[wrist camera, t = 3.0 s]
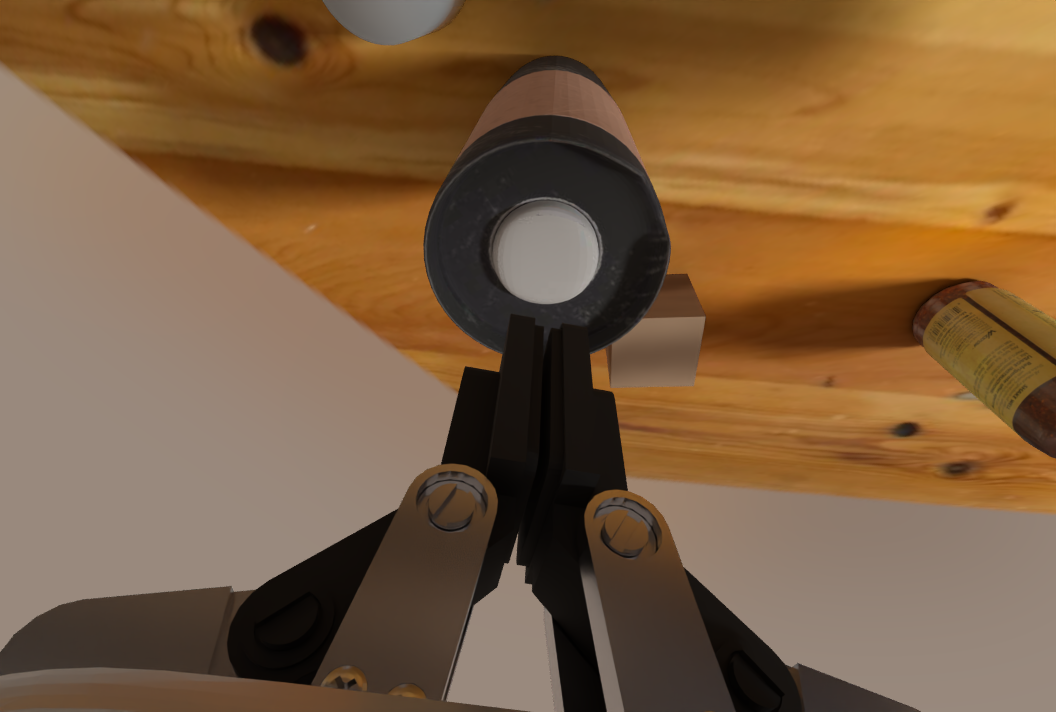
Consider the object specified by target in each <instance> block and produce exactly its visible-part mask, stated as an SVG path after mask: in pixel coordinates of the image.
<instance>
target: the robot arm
mask: <svg viewBox="0 0 1056 712" xmlns="http://www.w3.org/2000/svg"><path fill="white" fill-rule="evenodd" d="M543 341H544V326H540V325H535V318H533V317H528V316H522V315H517V314H510V319H509V324H508V329H507V334H506V339H505V345H504V350H503V355H502V360H501V365H500V371H499V372H495V371H489V370H484V369H478V368H472V367H466V366H465V369H464V372H463V376H462V380H461V385H460V389H459V393H458V397H457V401H456V405H455V410H454V413H453V417H452V421H451V426H450V430H449V434H448V438H447V442H446V446H445V450H444V454H443V458H442V462H441V465H437V466H435V467H432V468H429V469H427V470H425V471H424V472H423V473H421V474H420V475H418V476H417V477H416V478H415V479H414V481H413V482H412V484H411V485H410V486H409V488H408V490H407V492H406V494H405V496H404V498H403V500H402V502H401V504H400V506H399V508H398V509H397V510H395V511H393V512H391V513H389V514H388V515H386V516H384V517H382V518H381V519H379V520H377V521H375V522H373V523H371V524H370V525H368V526H366V527H364V528H362V529H361V530H359V531H357V532H356V533H353V534H352V535H350V536H348V537H346V538H344V539H343V540H341V541H339V542H337V543H335V544H334V545H332V546H330V547H328V548H327V549H325V550H323V551H321V552H319V553H317V554H316V555H314V556H312V557H310V558H309V559H307V560H305V561H303V562H301V563H299V564H298V565H296V566H294V567H292V568H291V569H289V570H287V571H285V572H283V573H282V574H280V575H278V576H276V577H274V578H272V579H271V580H269V581H268V582H266V583H265V584H263V585H262V586H261V587H259V588H258V589H256V590H248V591H237V592H234V591H233V588H232V586H226V587H216V588H204V589H193V590H183V591H172V592H160V593H149V594H138V595H126V596H116V597H104V598H93V599H83V600H79V601H75V602H70V603H66V604H62V605H59V606H57V607H55V608H53V609H51V610H49V611H47V612H45V613H43V614H41V615H39V616H37V617H36V618H34V619H33V620H32V621H31V622H29V623H28V624H27V625H26V626H24V627H23V628H22V629H21V630H19V631H18V632H17V633H15V634H14V635H13V637H12V638H11V639H10V641H9V642H8V643H7V644H6V645H5V647H4V648H3V649H2V651H1V652H0V712H528V711H520V710H511V709H503V708H496V707H487V706H479V705H471V704H462V703H454V702H447V698H448V695H449V691H450V687H451V684H452V681H453V677H454V674H455V670H456V666H457V663H458V659H459V656H460V653H461V649H462V646H463V642H464V639H465V636H466V632H467V628H468V625H469V621H470V618H471V614H472V611H473V607H474V605H475V604H476V603H477V602H478V601H480V600H481V599H482V598H484V597H485V596H486V595H488V594H489V593H490V592H491V591H493V590H494V589H495V588H497V586H498V583H499V579H500V576H501V572H502V569H503V565H504V563H509V560H510V557H511V554H512V550H513V547H514V544H515V541H516V537H517V534H518V544H517V560H516V561H517V565H522V566H526V572H525V583H527V584H532V592H533V593H534V595H535V596H536V597H537V598H538V600H539V601H540V602H541V603H542V604H543V606H544V626H545V635H546V643H547V651H548V659H549V668H550V677H551V685H552V693H553V702H554V710H555V712H921V711H919V710H917V709H915V708H913V707H910V706H908V705H905V704H902V703H900V702H897V701H895V700H892V699H890V698H887V697H884V696H882V695H879V694H877V693H874V692H871V691H869V690H866V689H864V688H861V687H859V686H856V685H853V684H851V683H848V682H846V681H843V680H841V679H838V678H835V677H833V676H830V675H827V674H825V673H822V672H820V671H817V670H815V669H812V668H809V667H807V666H804V665H802V664H799V663H797V664H796V665H794V666H793V667H790V666H788V665H785V664H784V663H783V662H782V661H781V659H780V658H779V657H778V656H777V655H776V654H775V653H774V651H773V650H772V649H771V648H770V647H769V646H768V645H766V644H765V643H764V642H763V641H762V640H761V639H760V638H759V637H758V636H757V635H756V634H755V633H754V632H753V631H752V630H750V629H749V628H748V627H747V626H746V625H745V624H744V623H743V622H742V621H741V620H740V619H739V618H738V617H737V616H735V615H734V614H733V613H732V612H731V611H730V610H729V609H728V608H727V607H726V606H725V605H724V604H723V603H722V602H720V601H719V600H718V599H717V598H716V597H715V596H714V595H713V594H712V593H711V592H710V591H709V590H708V589H707V588H705V586H703V585H702V584H701V583H700V582H699V581H698V580H697V579H696V578H695V577H694V576H693V575H691V574H690V573H689V572H688V571H687V570H686V569H685V568H684V567H683V565H682V562H681V559H680V556H679V553H678V551H677V548H676V545H675V542H674V540H673V537H672V534H671V532H670V529H669V526H668V524H667V523H666V521H665V519H664V517H663V515H662V514H661V513H660V512H659V511H658V510H657V508H656V507H655V506H654V505H653V504H651V503H650V502H649V501H647V500H646V499H644V498H643V497H641V496H639V495H637V494H634V493H632V492H629V491H628V489H627V482H626V475H625V468H624V460H623V453H622V446H621V439H620V432H619V425H618V418H617V411H616V404H615V398H614V394H613V393H612V392H610V391H605V390H599V389H593V384H592V373H591V361H590V350H589V339H588V330H587V327H582V326H577V325H571V324H566V323H562V324H561V326H560V329H556V328H551V329H550V332H549V336H548V340H547V344H546V348H545V352H544V355H543Z"/></svg>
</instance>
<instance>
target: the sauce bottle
mask: <svg viewBox="0 0 1056 712" xmlns="http://www.w3.org/2000/svg"><path fill="white" fill-rule="evenodd" d="M912 329H913V334H914V337H915V339H916V340H917V341H918V342H919V343H920V344H921V345H922V346H923V347H924V348H925V350H926V352H927V353H928V354H929V355H930V356H931V357H932V358H933V359H935V360H936V361H937V362H938V363H939V364H940V365H941V366H942V367H943V368H944V369H946V370H947V371H948V372H949V373H950V374H951V375H952V376H953V377H955V378H956V379H957V380H958V381H959V382H960V383H961V384H962V385H963V386H965V387H966V388H967V389H968V390H969V391H970V392H971V393H972V394H973V395H974V396H976V397H977V398H978V399H979V400H980V401H981V402H982V403H983V404H984V405H986V406H987V407H988V408H989V409H990V410H991V411H992V412H993V413H994V414H996V415H997V416H998V417H999V418H1000V419H1001V420H1002V421H1003V422H1005V423H1006V424H1007V425H1008V426H1009V427H1010V428H1011V429H1012V430H1014V431H1015V432H1016V433H1017V434H1018V435H1019V436H1020V437H1021V438H1022V439H1024V440H1025V441H1026V442H1028V443H1029V444H1030V445H1032V446H1033V447H1035V448H1037V449H1038V450H1040V451H1042V452H1044V453H1045V454H1047V455H1049V456H1050V457H1053V458H1056V320H1055V319H1053V318H1051V317H1050V316H1048V315H1046V314H1045V313H1043V312H1042V311H1040V310H1038V309H1037V308H1035V307H1034V306H1032V305H1030V304H1029V303H1027V302H1026V301H1024V300H1022V299H1021V298H1019V297H1017V296H1016V295H1014V294H1012V293H1011V292H1009V291H1007V290H1004V289H999V288H997V287H996V286H994V285H992V284H990V283H987V282H984V281H974V282H966V283H962V284H958V285H954V286H951V287H948V288H946V289H944V290H942V291H940V292H939V293H937V294H935V295H933V297H932V298H930V299H929V300H928V301H927V302H926V303H925V304H923V305H922V306H921V308H920V309H919V311H918V312H917V314H916V316H915V318H914V320H913V328H912Z"/></svg>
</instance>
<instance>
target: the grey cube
mask: <svg viewBox="0 0 1056 712" xmlns="http://www.w3.org/2000/svg"><path fill="white" fill-rule="evenodd" d="M705 318H706V316H705V314H704V311H703V309H702V307H701V304H700V302H699V300H698V297H697V295H696V293H695V291H694V288H693V286H692V284H691V281H690V279H689V277H688V274H671V275H666V276H665V279H664V282H663V285H662V287H661V289H660V291H659V294H658V296H657V298H656V300H655V301H654V303H653V304H652V306H651V308H650V309H649V311H648V312H647V313H646V315H645V316H644V317H643V318H642V320H641V321H640V322H639V323H638V324H637V325H636V326H635V327H634V328H633V329H632V330H631V331H630V332H628V333H627V334H626V335H625V336H623V337H622V338H621V339H619V340H618V341H616V342H614V343H613V344H611V345H609V346H608V347H606V354H607V363H608V371H609V379H610V388H620V387H671V386H694V382H695V376H696V370H697V364H698V359H699V353H700V347H701V341H702V335H703V330H704V324H705Z"/></svg>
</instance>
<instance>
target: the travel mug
mask: <svg viewBox="0 0 1056 712" xmlns="http://www.w3.org/2000/svg"><path fill="white" fill-rule="evenodd" d="M670 253H671V243H670V238H669V234H668V231H667V227H666V223H665V220H664V216H663V212H662V209H661V206H660V203H659V200H658V198H657V195H656V193H655V190H654V188H653V186H652V183H651V181H650V179H649V176H648V174H647V171H646V169H645V167H644V164H643V162H642V160H641V157H640V155H639V152H638V150H637V148H636V145H635V143H634V141H633V138H632V136H631V133H630V131H629V129H628V126H627V124H626V122H625V119H624V117H623V115H622V113H621V111H620V109H619V107H618V106H617V104H616V103H615V101H614V100H613V98H612V97H611V95H610V94H609V92H608V91H607V89H606V88H605V86H604V85H603V83H602V82H601V81H600V79H599V78H598V77H597V76H596V75H595V74H594V72H593V71H591V70H590V69H589V68H588V67H587V66H585V65H584V64H582V63H581V62H578V61H576V60H574V59H571V58H568V57H563V56H547V57H542V58H539V59H536V60H533V61H531V62H529V63H527V64H526V65H524V66H523V67H521V68H520V69H519V70H518V71H517V72H516V73H515V74H514V75H513V76H512V77H511V78H510V79H509V80H508V81H507V82H506V83H505V85H504V86H503V87H502V88H501V89H500V90H499V92H498V93H497V94H496V95H495V96H494V98H493V99H492V100H491V101H490V103H489V104H488V105H487V107H486V109H485V110H484V112H483V114H482V115H481V117H480V119H479V121H478V122H477V124H476V126H475V128H474V130H473V131H472V133H471V135H470V137H469V138H468V140H467V142H466V144H465V145H464V147H463V149H462V151H461V152H460V154H459V156H458V158H457V159H456V161H455V163H454V165H453V167H452V168H451V170H450V172H449V174H448V175H447V177H446V179H445V181H444V182H443V184H442V186H441V188H440V189H439V191H438V193H437V195H436V197H435V199H434V202H433V204H432V206H431V209H430V211H429V215H428V219H427V223H426V227H425V235H424V261H425V267H426V272H427V276H428V279H429V282H430V285H431V288H432V290H433V292H434V294H435V296H436V298H437V300H438V302H439V303H440V305H441V306H442V308H443V310H444V311H445V313H446V314H447V315H448V316H449V317H450V318H451V320H452V321H453V322H454V323H455V324H456V325H457V326H458V327H459V328H460V329H461V330H462V331H463V332H465V333H466V334H467V335H469V336H470V337H471V338H473V339H474V340H475V341H477V342H479V343H480V344H482V345H484V346H486V347H487V348H490V349H492V350H494V351H496V352H499V353H501V354H503V350H504V345H505V339H506V334H507V329H508V324H509V319H510V314H517V315H522V316H528V317H533V318H535V325H540V326H544V341H543V355H544V352H545V348H546V344H547V340H548V336H549V332H550V329H551V328H556V329H560V326H561V324H562V323H566V324H571V325H577V326H582V327H587V330H588V339H589V350H590V354H592V353H595V352H597V351H599V350H601V349H604V348H606V347H608V346H609V345H611V344H613V343H614V342H616V341H618V340H619V339H621V338H622V337H623V336H625V335H626V334H627V333H628V332H630V331H631V330H632V329H633V328H634V327H635V326H636V325H637V324H638V323H639V322H640V321H641V320H642V318H643V317H644V316H645V315H646V313H647V312H648V311H649V309H650V308H651V306H652V304H653V303H654V301H655V300H656V298H657V296H658V294H659V291H660V289H661V287H662V285H663V282H664V279H665V276H666V273H667V269H668V265H669V260H670Z"/></svg>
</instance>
